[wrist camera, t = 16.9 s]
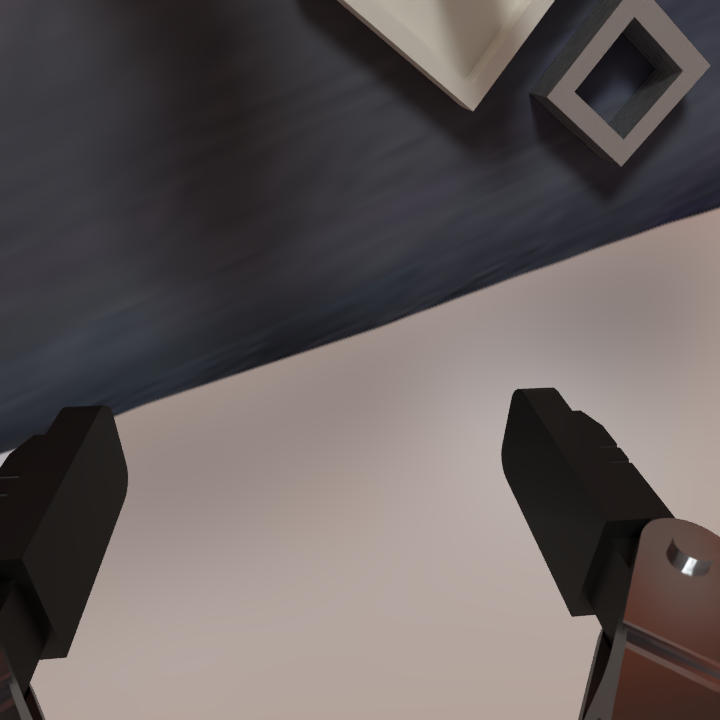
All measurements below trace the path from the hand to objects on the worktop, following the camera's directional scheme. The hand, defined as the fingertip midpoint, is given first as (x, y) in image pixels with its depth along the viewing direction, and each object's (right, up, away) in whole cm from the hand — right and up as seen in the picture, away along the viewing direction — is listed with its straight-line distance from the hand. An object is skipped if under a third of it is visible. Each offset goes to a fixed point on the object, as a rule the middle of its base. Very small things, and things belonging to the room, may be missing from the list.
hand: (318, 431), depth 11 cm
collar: (+20, +23, +30) cm, 43 cm away
